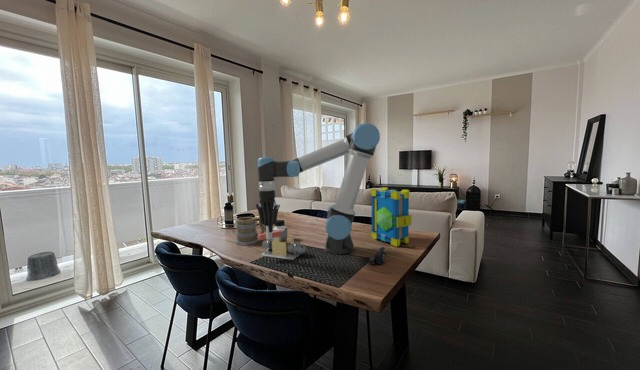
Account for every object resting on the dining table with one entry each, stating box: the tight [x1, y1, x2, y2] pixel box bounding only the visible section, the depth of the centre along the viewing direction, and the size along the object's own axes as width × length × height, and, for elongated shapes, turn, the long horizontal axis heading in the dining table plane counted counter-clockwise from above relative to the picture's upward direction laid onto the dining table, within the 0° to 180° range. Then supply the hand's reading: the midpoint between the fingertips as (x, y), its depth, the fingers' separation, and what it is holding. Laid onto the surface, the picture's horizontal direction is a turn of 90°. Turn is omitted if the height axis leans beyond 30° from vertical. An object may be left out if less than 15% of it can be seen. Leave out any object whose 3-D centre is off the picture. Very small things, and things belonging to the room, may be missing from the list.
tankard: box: [234, 216, 266, 246], centre depth 161 cm, size 20×13×15 cm, turn 119°
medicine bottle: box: [271, 218, 288, 240], centre depth 163 cm, size 7×7×12 cm
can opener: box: [368, 246, 386, 265], centre depth 126 cm, size 18×7×6 cm, turn 155°
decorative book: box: [370, 186, 412, 248], centre depth 153 cm, size 14×23×30 cm, turn 30°
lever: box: [257, 229, 288, 241], centre depth 134 cm, size 15×4×4 cm, turn 126°
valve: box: [260, 237, 307, 261], centre depth 138 cm, size 23×13×7 cm, turn 67°
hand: (269, 238), depth 130 cm, fingers closed
